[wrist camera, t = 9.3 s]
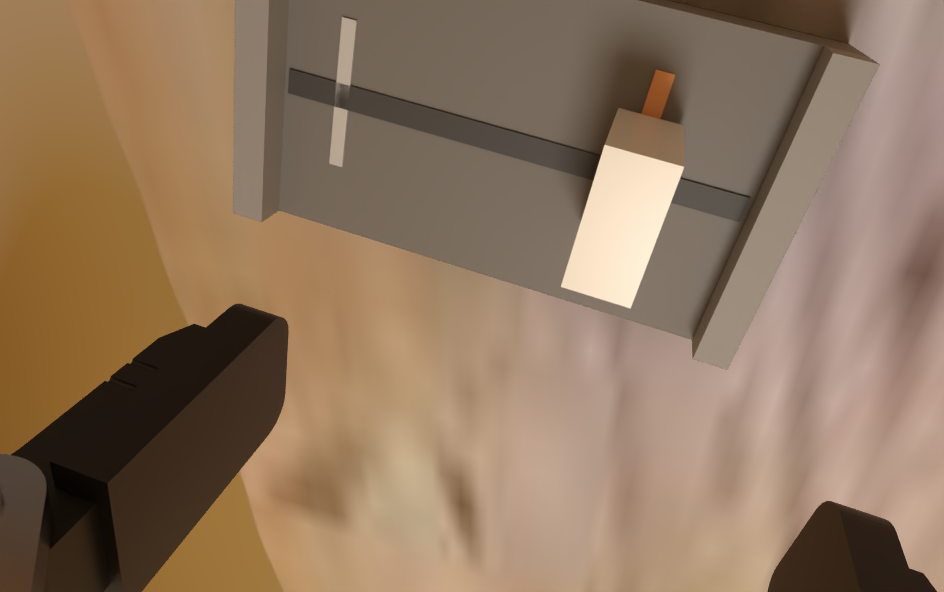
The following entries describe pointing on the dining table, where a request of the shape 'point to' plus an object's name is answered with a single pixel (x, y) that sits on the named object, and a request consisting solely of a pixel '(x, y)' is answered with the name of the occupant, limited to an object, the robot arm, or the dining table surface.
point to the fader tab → (626, 207)
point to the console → (542, 136)
